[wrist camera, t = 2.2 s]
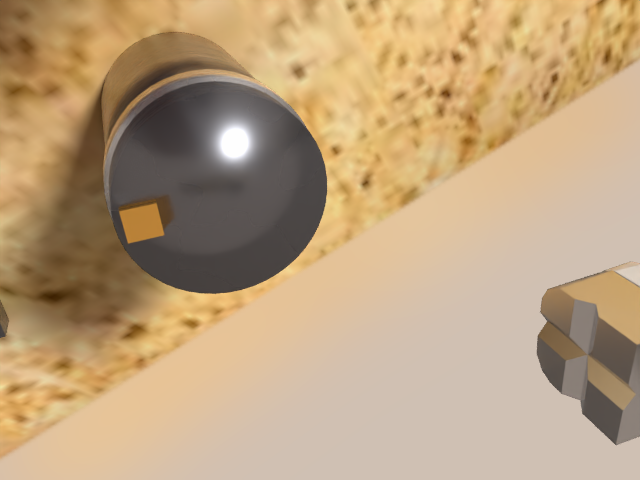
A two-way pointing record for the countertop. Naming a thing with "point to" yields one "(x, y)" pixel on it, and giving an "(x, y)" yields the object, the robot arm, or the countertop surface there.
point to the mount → (3, 321)
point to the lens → (206, 167)
